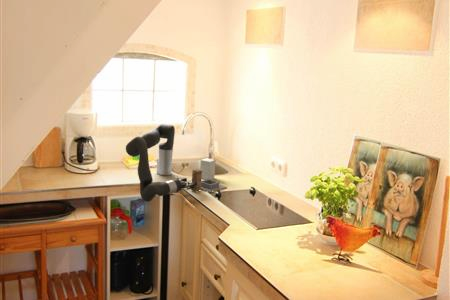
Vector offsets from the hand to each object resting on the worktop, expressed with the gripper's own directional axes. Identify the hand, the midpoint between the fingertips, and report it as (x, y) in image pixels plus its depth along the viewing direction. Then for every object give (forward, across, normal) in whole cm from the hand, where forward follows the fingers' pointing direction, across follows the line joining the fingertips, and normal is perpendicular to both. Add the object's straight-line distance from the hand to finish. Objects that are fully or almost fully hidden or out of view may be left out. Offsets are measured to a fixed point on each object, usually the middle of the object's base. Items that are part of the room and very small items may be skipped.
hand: (191, 181), depth 278 cm
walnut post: (+5, -1, -7) cm, 9 cm away
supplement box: (+31, -15, -8) cm, 35 cm away
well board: (+17, -1, -7) cm, 19 cm away
